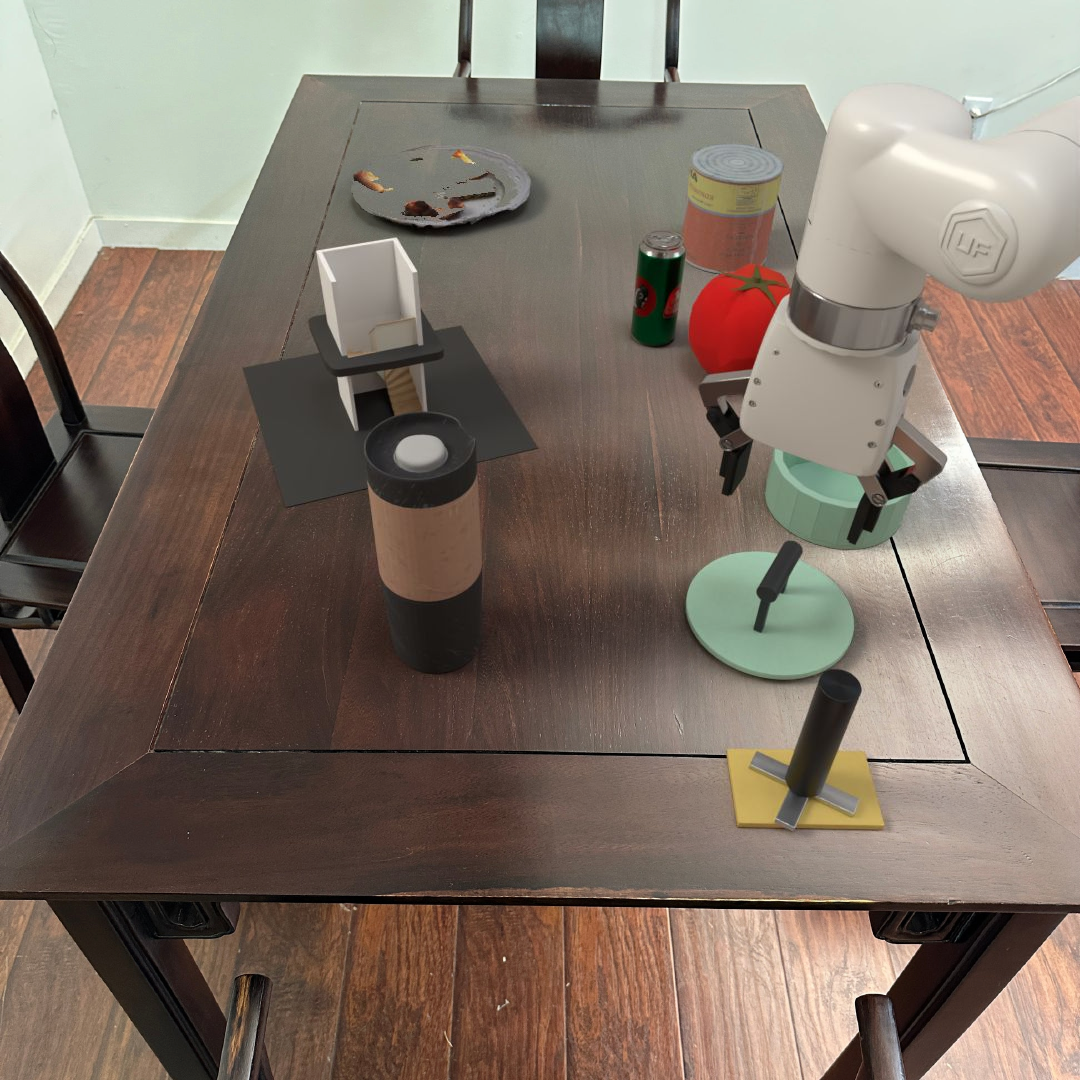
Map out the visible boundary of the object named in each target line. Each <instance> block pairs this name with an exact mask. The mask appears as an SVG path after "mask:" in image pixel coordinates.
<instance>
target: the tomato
mask: <svg viewBox="0 0 1080 1080" xmlns="http://www.w3.org/2000/svg"><path fill="white" fill-rule="evenodd" d="M714 270H715V269H714ZM717 271H718V270H717ZM719 272H721V273H723V274H718V275H717V276H715V277H713V278H712V279H711V280H709V282H707V284H706V285H705V286H704V287H703V288H702V289H701V291H700V292H699V294H698V296H697V298H696V299H695V300H694V302H693V304H692V307H691V311H690V313H689V314H690V315H689V319H688V334H687V336H688V343H689V346H690V348H691V350H692V353H693V354H694V356H695V357H696V360H697V361H698V363H699V365H700V367H701V368H702V369H703V370H704V371H705V372H706V373H708V375H709V374H718V373H726V372H734V371H742V370H751V369H753V367H754V364H755V361H756V358H757V355H758V352H759V349H760V346H761V344H762V341H763V338H764V336H765V333H766V331H767V329H768V326H769V324H770V322H771V320H772V317H773V315H774V313H775V311H776V309H777V307H778V306H779V304H780V302H781V300H782V299H783V298H784V297H785V296H787V295H789V294H790V291H791V287H790V285H789V282H788V281H787V279H786V276H784V274H782V272H779V271H777V270H774V269H772V268H769V267H767V266H764V265H762V266H761V265H759V264H749V265H746V266H744V267H742V268H740V269H738V270H737V271H735V272H726V273H725V272H722V271H719Z"/></svg>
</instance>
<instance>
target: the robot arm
mask: <svg viewBox="0 0 1080 1080" xmlns="http://www.w3.org/2000/svg"><path fill="white" fill-rule="evenodd" d="M826 130H827V131H826V135H825V139H824V143H823V147H822V151H821V156H820V159H819V160H820V161H819V165H818V170H817V172H816V178H815V183H814V187H813V191H812V196H811V199H810V205H809V209H808V213H807V217H806V222H805V227H804V230H803V235H802V238H801V243H800V248H799V251H798V252H799V253H798V258H797V262H796V267H795V270H794V274H793V278H792V282H791V287H790V288H791V291H790V294H789V295H787V296H785V297H784V298H783V299H782V300H781V302H780V304H779V306H778V307H777V309H776V311H775V313H774V315H773V317H772V320H771V322H770V324H769V326H768V329H767V331H766V333H765V336H764V338H763V341H762V344H761V346H760V349H759V352H758V355H757V358H756V361H755V364H754V367H753V369H751V370H742V371H734V372H726V373H718V374H709V373H708V374H707V375H706V376H705V377H704V378H703V379H702V381H700V383H699V384H698V387H697V388H698V393H699V395H700V398H701V401H702V404H703V407H704V408H705V409H706V414H705V417H706V420H707V422H708V423H709V424H710V426H711V427H712V428H713V430H714V431H715V433H716V434H717V436H718V438H719V441H718V445H719V447H720V448H721V449H722V450H723V451H722V456H721V457H722V458H721V462H720V467H719V472H718V475H719V477H721V478H724V479H723V484H722V488H721V495H723V496H725V497H730V496H733V494H734V493H735V491H736V490H737V488H738V487H739V485H740V484H741V482H742V481H743V480H744V478H745V476H746V474H747V470H748V465H749V461H750V458H751V457H750V456H751V452H752V449H753V443H754V441H756V442H758V443H760V444H763V445H766V446H768V447H770V448H772V449H774V448H776V449H778V450H781V451H784V452H787V453H789V454H792V455H795V456H798V457H800V458H803V459H806V460H809V461H812V462H814V463H817V464H820V465H823V466H826V467H829V468H832V469H835V470H838V471H841V472H844V473H847V474H850V475H855V476H857V478H858V480H859V481H860V483H861V485H862V487H863V489H864V491H865V492H864V494H863V496H862V498H861V500H860V502H859V504H858V507H857V510H856V513H855V516H854V519H853V522H852V525H851V528H850V531H849V533H848V536H847V539H846V540H849V543H851V544H854V545H856V543H857V541H858V539H859V537H860V535H861V533H862V531H863V530H865V531H868V532H870V533H872V532H873V530H874V528H875V526H876V523H877V521H878V518H879V516H880V513H881V510H882V508H883V506H884V505H885V504H886V503H887V501H888V500H892V499H895V498H898V497H902V496H905V495H908V494H911V493H912V494H914V493H916V492H917V491H918V489H919V488H921V487H922V486H924V485H926V484H927V483H929V482H930V481H932V480H934V479H935V478H936V477H937V476H939V475H940V474H941V473H942V472H944V468H945V467H946V464H947V462H948V456H947V454H945V452H944V451H942V450H941V449H940V448H939V447H938V446H937V445H936V444H935V443H934V442H932V441H931V440H930V439H929V438H928V437H926V435H924V434H923V433H922V432H921V431H920V430H918V429H917V428H916V427H915V426H914V424H911V422H909V420H907V419H906V418H905V417H904V416H905V413H906V410H907V406H908V402H909V399H910V395H911V392H912V387H913V385H914V379H915V375H916V370H917V366H918V359H919V354H920V353H919V352H920V342H921V333H920V332H921V330H922V331H927V332H930V333H934V332H935V330H936V328H937V325H938V323H939V320H940V318H941V315H942V310H939V309H936V308H933V307H931V305H930V304H927V303H925V301H926V297H923V294H924V291H925V288H926V286H925V284H926V281H927V277H928V276H929V277H930V278H932V279H934V280H935V281H937V282H938V283H939V284H941V285H943V286H945V288H947V289H949V290H951V291H953V292H955V293H956V294H958V295H961V296H963V297H965V298H969V299H971V300H974V301H978V302H982V303H991V304H1001V303H1002V304H1003V303H1004V304H1005V303H1011V302H1014V301H1018V300H1021V299H1024V298H1027V297H1029V296H1031V295H1033V294H1035V293H1037V292H1038V291H1040V290H1042V289H1043V288H1044V287H1046V286H1047V285H1049V284H1050V283H1051V282H1053V281H1054V280H1055V279H1056V278H1057V277H1058V276H1060V275H1061V274H1062V272H1064V271H1065V270H1066V269H1067V268H1068V267H1070V266H1071V265H1072V264H1073V263H1074V262H1075V261H1076V260H1077V259H1079V258H1080V95H1077V96H1075V97H1071V98H1069V99H1066V100H1064V101H1062V102H1059V103H1056V104H1054V105H1052V106H1050V107H1049V108H1045V109H1044V110H1043V111H1040V112H1038V113H1037V114H1035V115H1034V116H1031V117H1030V118H1028V119H1026V120H1024V121H1023V122H1021V123H1020V124H1018V125H1016V126H1014V127H1013V128H1011V129H1009V130H1008V131H1006V132H1005V133H1003V134H1002V135H998V136H992V137H987V138H980V139H973V135H974V124H973V119H972V116H971V114H970V111H969V110H968V109H967V108H966V106H965V105H964V104H963V103H962V102H960V101H959V100H958V99H956V98H955V97H953V96H951V95H949V94H947V93H945V92H943V91H939V90H937V89H934V88H931V87H926V86H924V85H923V86H922V85H919V84H918V85H917V84H911V83H904V82H903V83H902V82H883V83H873V84H868V85H864V86H860V87H858V88H856V89H854V90H852V91H850V92H849V93H847V94H846V95H845V96H843V97H842V98H841V100H839V102H838V103H837V105H836V106H835V108H834V110H833V112H832V114H831V117H830V119H829V123H828V127H827V129H826ZM734 395H735V396H736V395H744V397H743V400H742V404H741V409H740V412H739V413H740V415H739V416H738V414H737V412H736V411H735V410H734V408H733V407H732V405H731V403H730V402H729V401H728V400H727V399H726V398H727V397H726V396H734ZM893 444H894V445H895V446H896V447H898V448H899V449H900V450H901V451H902V452H903V453H904V454H905V455H907V456H908V457H909V458H910V459H911V460H912V461H913V462H914V463H915V464H914V465H912V466H909V467H906V468H903V469H899V470H896V471H895V470H894V468H893V466H892V464H891V462H890V460H889V458H888V456H887V452H888V450H890V449H891V448H892V446H893Z"/></svg>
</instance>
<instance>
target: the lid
mask: <svg viewBox="0 0 1080 1080" xmlns="http://www.w3.org/2000/svg"><path fill="white" fill-rule="evenodd" d="M803 552H804V549H803V547H802V544H800V543H799V542H797V541H796V540H786V541H784V543H783V544H782V545H781V547H780V549H779V551H778V552H777V553H776V552H769V551H758V550H757V551H755V550H754V551H742V552H736V553H731V554H727V555H724V556H721V557H719V558H716V559H714V560H712V561H710V563H708V564H707V565H705V566H703V568H701V569H700V570H699V571H698V572H697V574H696V575H695V576H694V577H693V579H692V580H691V583H690V584H689V587H688V589H687V592H686V599H685V614H686V619H687V622H688V624H689V628H690V629H691V631H692V633H693V634H694V636H695V638H696V639H697V640H698V642H699V643H700V644H701V646H703V647H704V648H705V649H706V650H707V652H708V653H710V654H711V655H713V656H714V657H715V658H716V659H717V660H719V661H720V662H722V663H723V664H725V665H727V666H729V667H731V668H733V669H735V670H737V671H740V672H742V673H744V674H748V675H752V676H755V677H758V678H765V679H770V680H783V681H784V680H797V679H805V678H808V677H813V676H815V675H818V674H820V673H824V672H825V671H827V670H829V669H831V667H833V666H834V665H836V663H838V662H839V661H840V660H841V659H842V658H843V657H844V655H845V654H846V653H847V651H848V650H849V648H850V646H851V642H852V640H853V637H854V631H855V617H854V612H853V609H852V607H851V605H850V602H849V600H848V599H847V597H846V595H845V594H844V592H843V591H842V589H841V588H840V587H839V586H838V585H837V584H836V582H834V581H833V580H832V579H831V578H830V577H829V576H828V575H827V574H825V573H824V572H822V571H820V569H818V568H816V567H814V566H813V565H811V564H809V563H807V562H805V561H802V560H800V558H801V557H802V555H803Z"/></svg>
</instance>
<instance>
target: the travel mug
mask: <svg viewBox="0 0 1080 1080" xmlns="http://www.w3.org/2000/svg"><path fill="white" fill-rule="evenodd" d="M364 460H365V467H366V475H367V482H368V488H367V489H368V497H369V504H370V505H369V506H370V511H371V513H370V514H371V519H372V520H371V521H372V527H373V535H374V536H373V537H374V543H375V549H376V557H377V564H378V572H379V578H380V583H381V588H382V593H383V598H384V603H385V609H386V615H387V619H388V625H389V629H390V635H391V640H392V644H393V645H392V646H393V649H394V651H395V653H396V655H397V657H398V658H399V660H400V661H401V662H403V663H404V664H405V665H406V666H408V668H411V669H413V670H415V671H418V672H421V673H427V674H443V673H449V672H452V671H455V670H457V669H460V668H461V667H464V666H465V665H467V664H468V663H469V662H470V661H472V659H473V658H474V657H475V656H476V654H477V653H478V651H479V649H480V647H481V643H482V635H483V554H482V550H483V549H482V533H481V516H480V515H481V514H480V513H481V512H480V497H479V495H480V493H479V478H478V462H477V456H476V439H475V438H472V437H471V436H470V435H469V434H468V433H467V431H466V430H465V429H464V428H463V427H462V425H461V424H460V422H459V421H458V420H457V419H456V418H455V417H453V416H450V415H447V414H443V413H438V412H430V411H417V412H408V413H404V414H400V415H396V416H394V417H391V418H389V419H387V420H385V421H383V422H381V423H380V424H378V425H377V426H376V427H375V428H374V429H373V430H372V431H371V432H370V433H369V435H368V436H367V438H366V440H365V444H364Z"/></svg>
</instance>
